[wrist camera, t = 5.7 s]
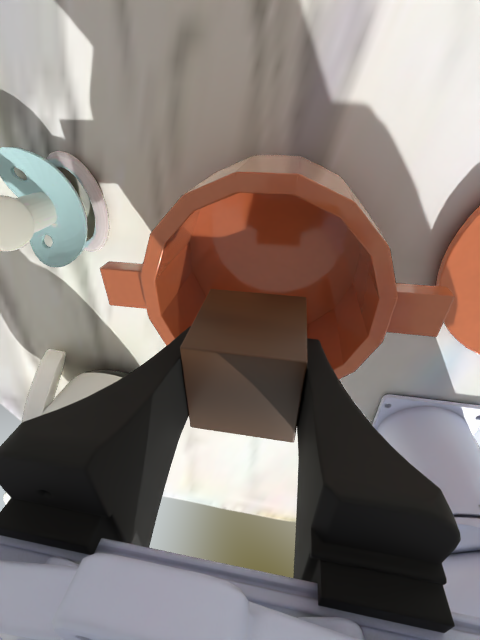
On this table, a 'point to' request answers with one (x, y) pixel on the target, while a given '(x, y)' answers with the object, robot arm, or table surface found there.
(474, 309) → the lid
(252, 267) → the pot
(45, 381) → the spread jar
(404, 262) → the table surface
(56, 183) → the pacifier
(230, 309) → the block
